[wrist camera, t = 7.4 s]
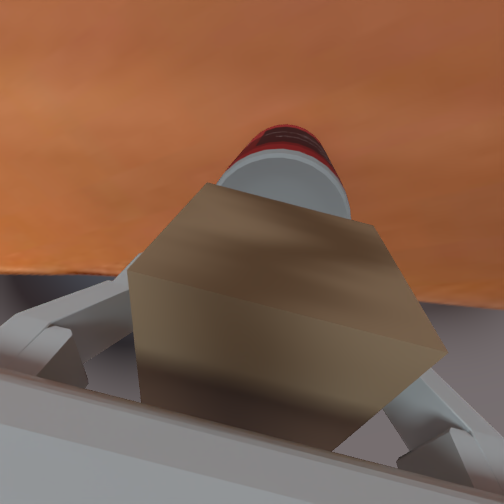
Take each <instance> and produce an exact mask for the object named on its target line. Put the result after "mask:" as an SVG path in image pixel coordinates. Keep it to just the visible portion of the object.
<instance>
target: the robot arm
mask: <svg viewBox="0 0 504 504" xmlns="http://www.w3.org/2000/svg"><path fill="white" fill-rule="evenodd" d="M142 253H143V252H142ZM142 253H139V254H138V255H137V256H136V257H135V258H134V259H133V260H132V261H131V262H130V263H129V265H128V266H127V267H126V268H125V269H124V270H123V271H122V272H121V273H120V274H119V275H118V276H117V277H116V278H115V279H114V280H113V281H105V282H102V283H99V284H97V285H94V286H91V287H89V288H86V289H83V290H80V291H77V292H75V293H72V294H69V295H66V296H64V297H61V298H58V299H55V300H53V301H50V302H48V303H44V304H42V305H39V306H36V307H33V308H31V309H28V310H25V311H22V312H20V313H17V314H15V315H14V316H13V317H11V318H10V319H9V320H8V321H6V322H5V323H4V324H3V325H2V326H0V504H504V438H503V437H502V436H501V435H500V434H499V433H498V432H497V431H496V430H495V429H494V428H493V427H492V426H491V425H490V424H489V423H488V422H487V421H486V420H484V418H482V416H481V415H479V414H478V413H477V412H476V411H475V410H474V409H473V408H472V407H471V406H470V405H469V404H468V403H467V402H466V401H465V400H464V399H463V398H462V397H461V396H460V395H459V394H458V393H457V392H455V390H453V388H451V387H450V386H449V385H448V384H447V383H446V382H445V381H444V380H443V379H442V378H441V377H440V376H439V375H438V374H437V373H436V372H435V371H434V370H433V369H432V368H430V369H429V370H427V371H426V372H425V373H424V374H423V375H421V376H420V377H419V378H418V379H417V380H416V381H414V382H413V383H412V384H411V385H410V386H408V387H407V388H406V389H405V390H404V391H403V392H401V393H400V394H399V395H398V396H397V397H395V398H394V399H393V400H392V401H391V402H390V403H388V404H387V405H386V406H385V407H384V408H382V409H383V410H384V412H385V413H386V415H387V416H388V418H389V419H390V421H391V423H392V424H393V425H394V427H395V429H396V430H397V432H398V433H399V435H400V436H401V438H402V439H403V441H404V443H405V444H406V446H407V447H408V449H409V450H410V452H408V453H407V454H405V455H403V456H401V457H399V459H398V460H397V462H396V463H397V466H398V469H397V468H393V467H390V466H386V465H382V464H378V463H374V462H370V461H366V460H362V459H358V458H354V457H350V456H347V455H343V454H338V453H335V452H331V451H327V450H323V449H319V448H315V447H311V446H308V445H304V444H300V443H296V442H292V441H288V440H284V439H280V438H276V437H272V436H268V435H264V434H261V433H257V432H253V431H249V430H245V429H241V428H237V427H233V426H229V425H225V424H221V423H218V422H214V421H210V420H206V419H202V418H198V417H194V416H190V415H186V414H182V413H178V412H175V411H171V410H167V409H163V408H159V407H155V406H151V405H147V404H143V403H139V402H135V401H131V400H127V399H124V398H120V397H116V396H111V395H108V394H104V393H100V392H96V391H92V390H88V389H85V388H86V386H87V385H88V378H87V375H86V372H85V369H84V366H83V364H84V363H85V362H87V361H88V360H90V359H91V358H93V357H94V356H96V355H97V354H99V353H100V352H102V351H103V350H105V349H106V348H108V347H110V346H111V345H112V344H114V343H116V342H117V341H118V340H120V339H122V338H123V337H125V336H126V335H128V334H129V333H131V332H132V331H133V323H132V313H131V304H130V295H129V286H128V276H127V269H128V268H129V267H130V266H131V265H132V264H133V263H134V262H135V260H136V259H137V258H138V257H139V256H140V255H141V254H142Z"/></svg>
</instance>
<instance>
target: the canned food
mask: <svg viewBox="0 0 504 504" xmlns="http://www.w3.org/2000/svg"><path fill="white" fill-rule="evenodd" d="M216 185H219V186H223V187H227V188H231V189H234V190H238V191H242V192H246V193H250V194H254V195H258V196H261V197H265V198H269V199H273V200H277V201H281V202H285V203H288V204H292V205H296V206H300V207H304V208H308V209H311V210H315V211H319V212H323V213H327V214H331V215H335V216H338V217H342V218H346V219H350V220H351V216H350V208H349V202H348V199H347V195H346V192H345V190H344V188H343V185H342V183H341V181H340V179H339V177H338V175H337V173H336V171H335V169H334V167H333V165H332V164H331V162H330V160H329V158H328V156H327V154H326V152H325V150H324V149H323V147H322V145H321V143H320V142H319V141H318V139H317V138H316V137H315V136H314V135H313V134H311V133H310V132H308V131H307V130H306V129H303V128H301V127H298V126H294V125H288V124H286V125H276V126H273V127H270V128H267V129H266V130H264V131H262V132H260V133H259V134H258V135H257V136H256V137H255V138H253V139H252V141H251V142H250V143H249V144H248V145H247V146H246V147H245V149H244V150H243V151H242V152H241V153H240V154H239V156H238V157H237V158H236V159H235V160H234V161H233V162H232V164H231V165H230V166H229V167H228V169H227V170H226V171H225V173H224V174H223V175H222V177H221V178H220V179H219V181H218V182H217V184H216Z"/></svg>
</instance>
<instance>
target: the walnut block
mask: <svg viewBox="0 0 504 504" xmlns="http://www.w3.org/2000/svg"><path fill="white" fill-rule="evenodd" d="M127 276H128V286H129V295H130V304H131V313H132V323H133V332H134V341H135V350H136V359H137V369H138V378H139V387H140V395H141V403H143V404H147V405H151V406H155V407H159V408H163V409H167V410H171V411H175V412H178V413H182V414H186V415H190V416H194V417H198V418H202V419H206V420H210V421H214V422H218V423H221V424H225V425H229V426H233V427H237V428H241V429H245V430H249V431H253V432H257V433H261V434H264V435H268V436H272V437H276V438H280V439H284V440H288V441H292V442H296V443H300V444H304V445H308V446H311V447H315V448H319V449H323V450H327V451H331V452H332V451H333V450H334V449H335V448H336V447H338V446H339V445H340V444H341V443H342V442H343V441H345V440H346V439H347V438H348V437H349V436H351V435H352V434H353V433H354V432H355V431H356V430H358V429H359V428H360V427H361V426H362V425H364V424H365V423H366V422H367V421H368V420H369V419H371V418H372V417H373V416H374V415H375V414H376V413H378V412H379V411H380V410H381V409H382V408H384V407H385V406H386V405H387V404H388V403H390V402H391V401H392V400H393V399H394V398H395V397H397V396H398V395H399V394H400V393H401V392H403V391H404V390H405V389H406V388H407V387H408V386H410V385H411V384H412V383H413V382H414V381H416V380H417V379H418V378H419V377H420V376H421V375H423V374H424V373H425V372H426V371H427V370H429V369H430V368H431V367H432V366H433V365H434V364H436V362H438V361H439V360H440V359H441V358H443V357H444V356H445V355H446V354H447V353H448V351H447V350H446V348H445V346H444V345H443V343H442V341H441V339H440V338H439V336H438V334H437V333H436V331H435V329H434V328H433V326H432V324H431V323H430V321H429V319H428V317H427V316H426V314H425V312H424V311H423V309H422V307H421V305H420V304H419V302H418V300H417V299H416V297H415V295H414V294H413V292H412V290H411V289H410V287H409V285H408V283H407V282H406V280H405V278H404V277H403V275H402V273H401V272H400V270H399V268H398V267H397V265H396V263H395V261H394V260H393V258H392V256H391V255H390V253H389V251H388V250H387V248H386V246H385V244H384V243H383V241H382V239H381V238H380V236H379V234H378V233H377V231H376V229H375V228H374V226H373V225H369V224H365V223H362V222H358V221H354V220H350V219H346V218H342V217H338V216H335V215H331V214H327V213H323V212H319V211H315V210H311V209H308V208H304V207H300V206H296V205H292V204H288V203H285V202H281V201H277V200H273V199H269V198H265V197H261V196H258V195H254V194H250V193H246V192H242V191H238V190H234V189H231V188H227V187H223V186H219V185H215V184H211V183H208V182H207V183H206V184H205V185H204V186H203V188H202V189H201V190H200V191H199V192H198V193H197V194H196V195H195V196H194V197H193V198H192V199H191V201H190V202H189V203H188V204H187V205H186V206H185V207H184V208H183V209H182V210H181V211H180V213H179V214H178V215H177V216H176V217H175V218H174V219H173V220H172V221H171V222H170V223H169V225H168V226H167V227H166V228H165V229H164V230H163V231H162V232H161V233H160V234H159V235H158V236H157V238H156V239H155V240H154V241H153V242H152V243H151V244H150V245H149V246H148V247H147V248H146V250H145V251H144V252H143V253H142V254H141V255H140V256H139V257H138V258H137V259H136V260H135V262H134V263H133V264H132V265H131V266H130V267H129V268H128V269H127Z"/></svg>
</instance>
